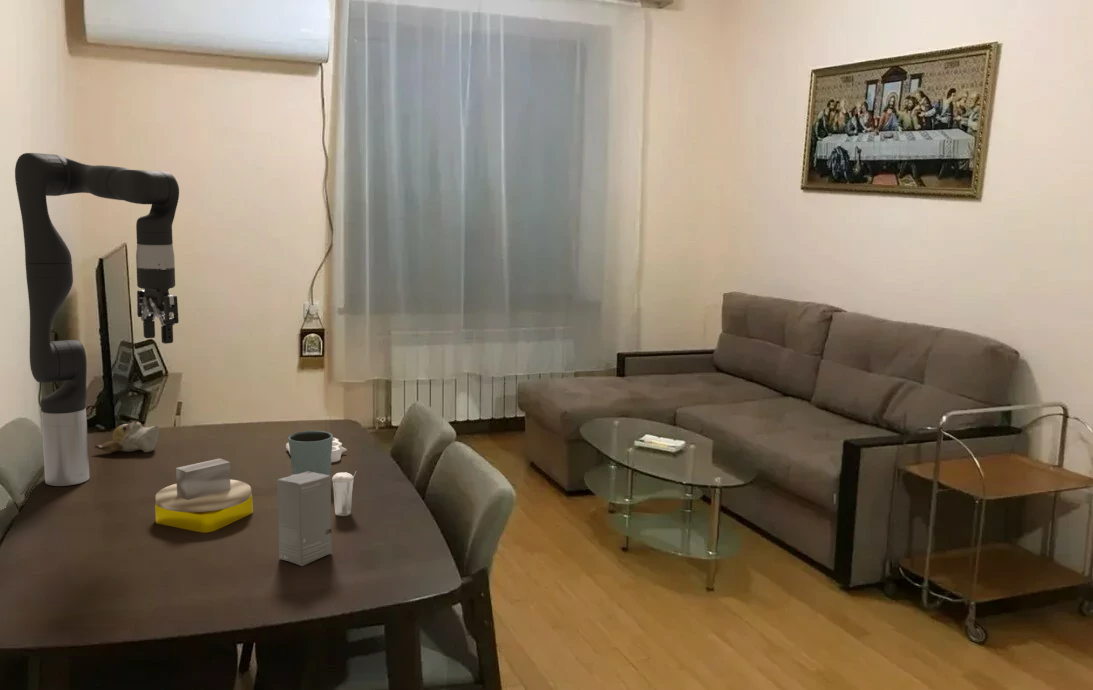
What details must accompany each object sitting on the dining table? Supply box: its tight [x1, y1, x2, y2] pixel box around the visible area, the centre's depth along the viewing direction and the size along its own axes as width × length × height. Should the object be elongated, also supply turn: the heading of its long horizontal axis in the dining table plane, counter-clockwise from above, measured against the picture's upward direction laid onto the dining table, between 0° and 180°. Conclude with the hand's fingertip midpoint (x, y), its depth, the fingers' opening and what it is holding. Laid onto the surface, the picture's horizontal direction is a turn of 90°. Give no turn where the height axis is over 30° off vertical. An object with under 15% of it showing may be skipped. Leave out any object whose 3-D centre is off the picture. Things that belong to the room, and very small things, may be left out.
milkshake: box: [331, 471, 357, 517], centre depth 195 cm, size 4×5×10 cm
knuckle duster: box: [285, 437, 348, 463], centre depth 240 cm, size 3×18×15 cm
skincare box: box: [276, 471, 333, 567], centre depth 171 cm, size 8×7×16 cm
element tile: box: [154, 494, 254, 533], centre depth 192 cm, size 15×15×5 cm
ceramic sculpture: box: [94, 419, 160, 453], centre depth 237 cm, size 11×9×15 cm
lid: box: [155, 457, 252, 512], centre depth 191 cm, size 19×19×7 cm
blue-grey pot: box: [287, 430, 334, 477], centre depth 214 cm, size 10×10×12 cm
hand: (158, 340), depth 195 cm, fingers open, 8 cm apart
